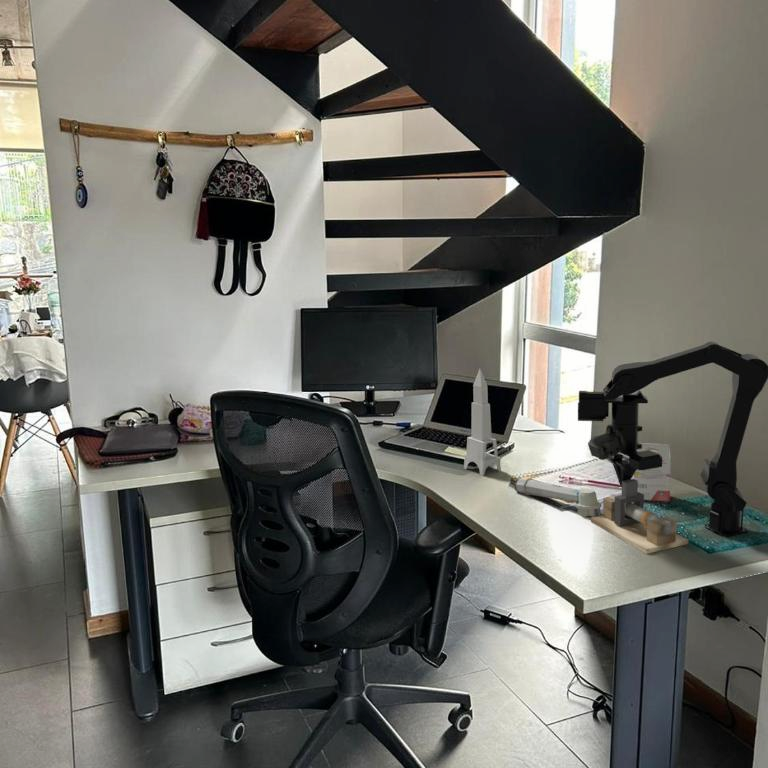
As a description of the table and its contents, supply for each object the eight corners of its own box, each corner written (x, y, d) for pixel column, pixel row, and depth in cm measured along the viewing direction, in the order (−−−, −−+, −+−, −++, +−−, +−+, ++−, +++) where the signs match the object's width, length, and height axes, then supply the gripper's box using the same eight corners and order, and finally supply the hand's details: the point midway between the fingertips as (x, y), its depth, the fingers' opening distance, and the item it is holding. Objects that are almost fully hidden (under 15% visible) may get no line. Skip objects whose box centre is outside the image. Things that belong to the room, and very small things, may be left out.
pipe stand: (629, 513, 172) (630, 489, 171) (688, 543, 155) (689, 517, 154) (590, 521, 169) (591, 497, 168) (646, 553, 151) (647, 526, 150)
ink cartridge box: (669, 495, 183) (671, 439, 179) (669, 502, 178) (671, 445, 175) (633, 492, 186) (635, 437, 183) (632, 499, 181) (634, 443, 178)
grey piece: (525, 474, 192) (604, 485, 172) (528, 499, 192) (607, 512, 172) (511, 479, 189) (590, 491, 168) (514, 504, 189) (593, 519, 169)
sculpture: (482, 475, 204) (480, 371, 197) (463, 468, 210) (461, 367, 204) (500, 470, 207) (499, 367, 201) (482, 463, 214) (479, 364, 208)
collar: (637, 518, 166) (638, 477, 164) (643, 521, 165) (644, 480, 162) (614, 523, 164) (615, 481, 162) (620, 526, 162) (620, 484, 160)
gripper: (569, 417, 168) (569, 480, 171) (621, 436, 150) (620, 507, 154) (609, 410, 171) (609, 473, 174) (665, 429, 154) (663, 498, 157)
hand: (623, 487), depth 165 cm, fingers closed
